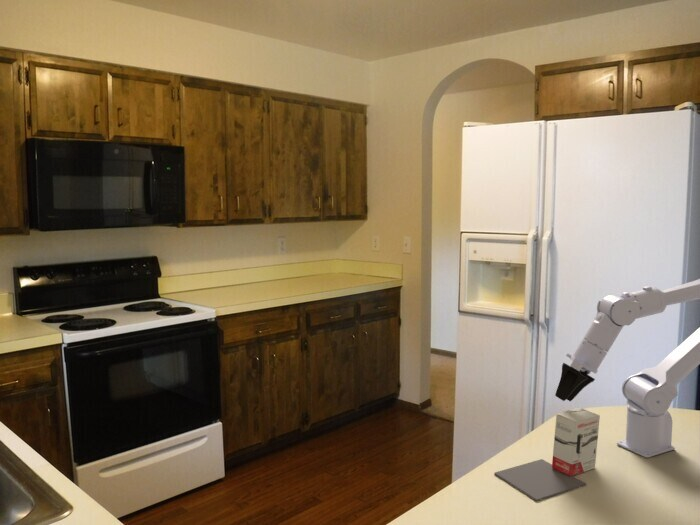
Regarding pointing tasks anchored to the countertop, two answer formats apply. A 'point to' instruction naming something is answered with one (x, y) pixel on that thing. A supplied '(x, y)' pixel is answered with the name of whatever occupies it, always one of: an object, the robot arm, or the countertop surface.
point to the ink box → (575, 441)
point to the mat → (539, 480)
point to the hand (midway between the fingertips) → (562, 398)
